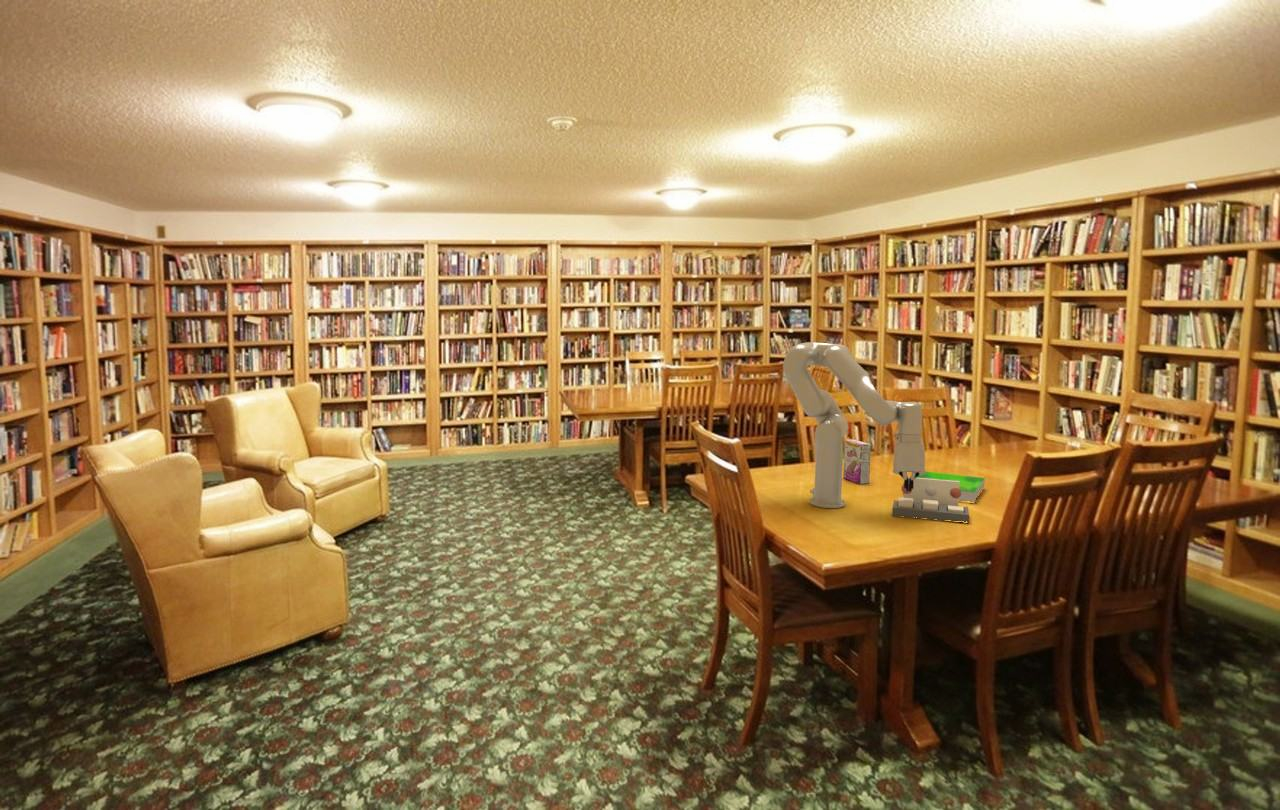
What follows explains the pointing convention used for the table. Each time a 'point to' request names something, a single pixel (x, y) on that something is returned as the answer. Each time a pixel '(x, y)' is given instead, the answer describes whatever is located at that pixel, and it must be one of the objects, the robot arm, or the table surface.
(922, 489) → the button panel
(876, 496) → the table surface
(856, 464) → the candy bar box
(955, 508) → the button
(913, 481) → the robot arm
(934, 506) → the middle button
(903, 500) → the button
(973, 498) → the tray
